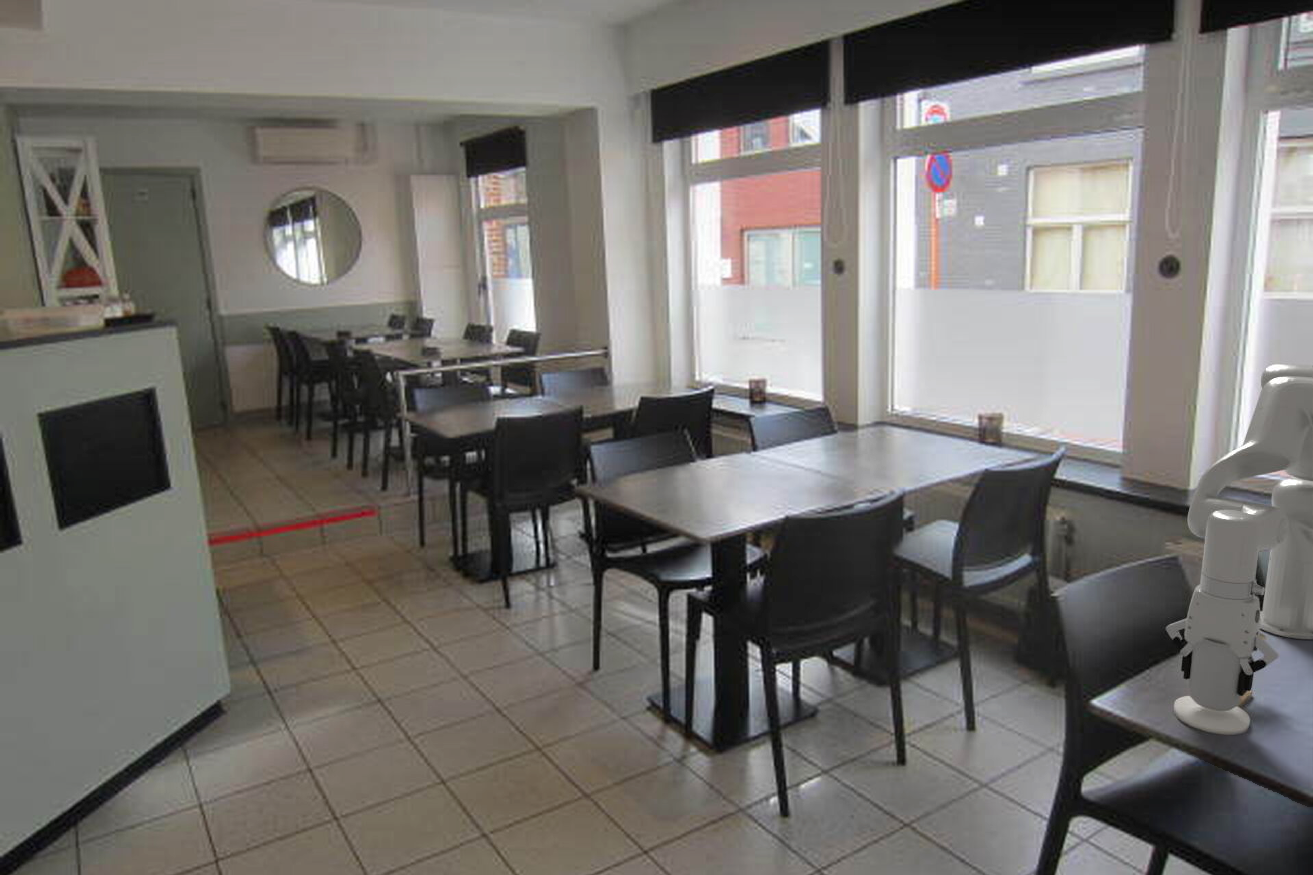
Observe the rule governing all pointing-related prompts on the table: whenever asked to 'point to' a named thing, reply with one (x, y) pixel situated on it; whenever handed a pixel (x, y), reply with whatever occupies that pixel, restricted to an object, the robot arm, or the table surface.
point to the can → (1214, 676)
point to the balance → (1249, 693)
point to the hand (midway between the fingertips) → (1215, 683)
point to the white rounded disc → (1211, 717)
